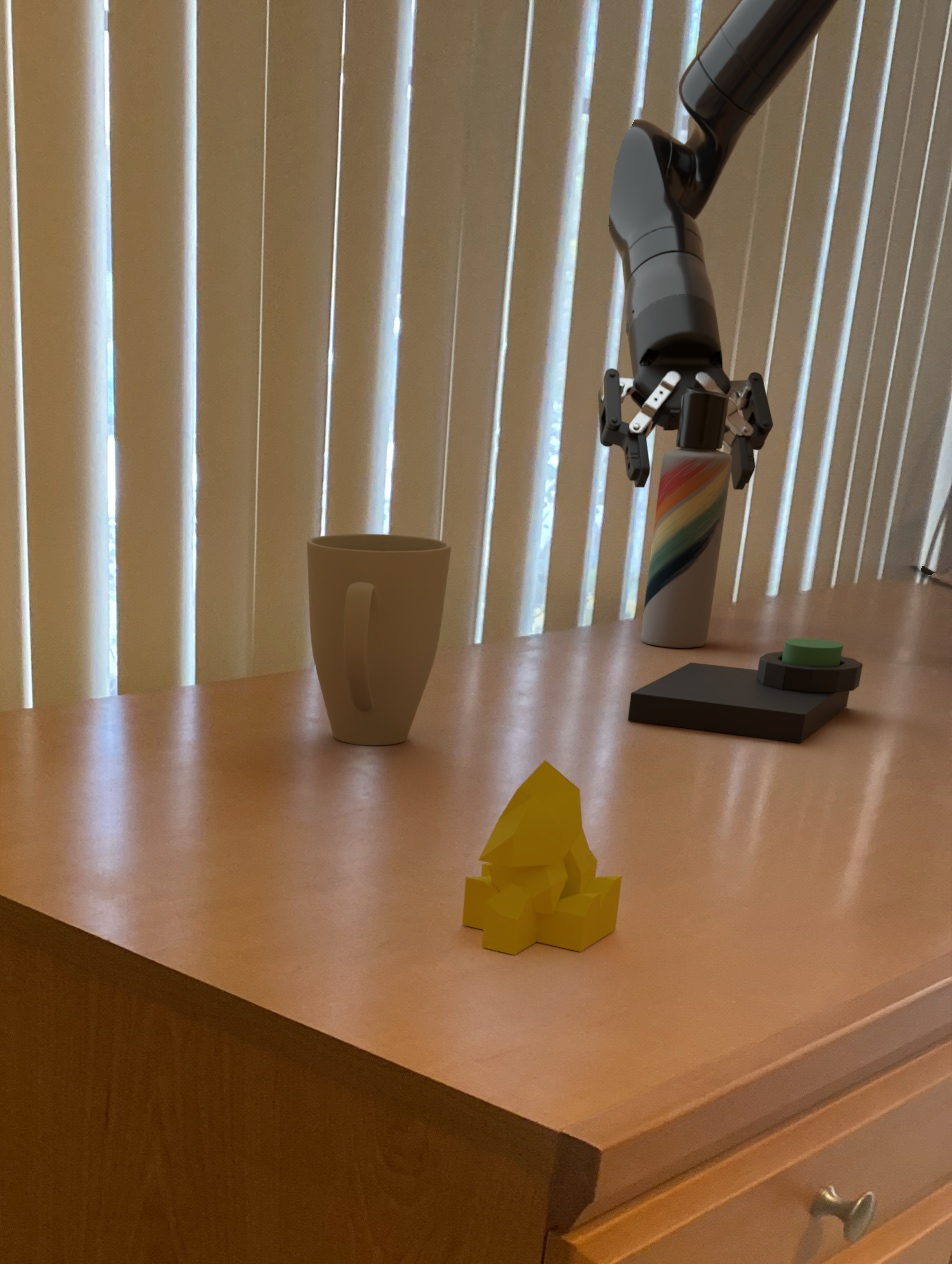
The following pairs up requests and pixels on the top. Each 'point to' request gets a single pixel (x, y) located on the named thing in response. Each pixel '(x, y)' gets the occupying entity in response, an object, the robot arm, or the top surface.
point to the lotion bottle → (688, 525)
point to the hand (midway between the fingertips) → (692, 481)
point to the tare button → (812, 652)
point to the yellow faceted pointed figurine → (541, 873)
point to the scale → (749, 698)
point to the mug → (375, 629)
